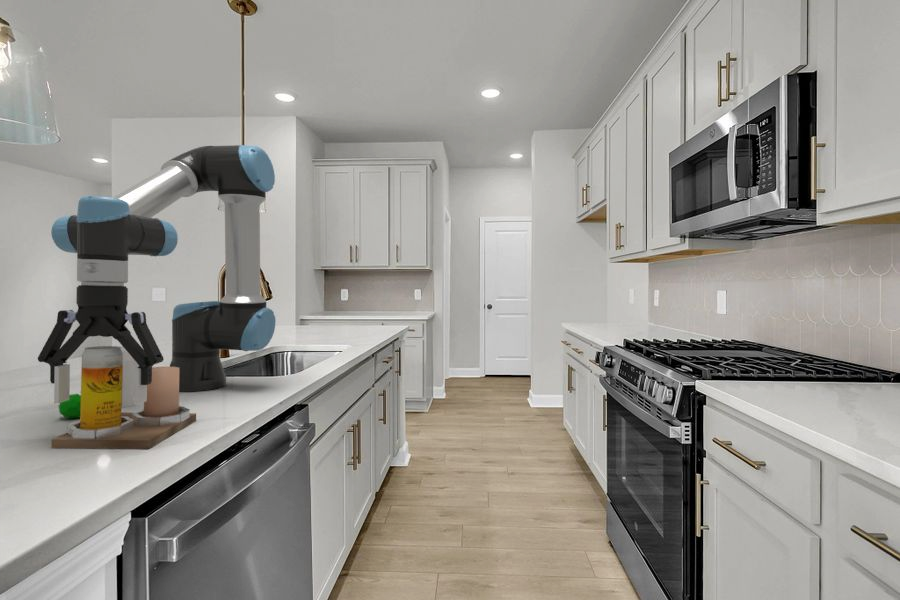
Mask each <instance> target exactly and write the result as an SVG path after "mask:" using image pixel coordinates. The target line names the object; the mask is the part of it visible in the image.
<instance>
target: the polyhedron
mask: <svg viewBox="0 0 900 600" xmlns="http://www.w3.org/2000/svg"><path fill="white" fill-rule="evenodd" d="M58 410H59V413H60V415H61V416H63V417H65V418H67V419H69V420H73V419H80V411H81V394H78V393H75V394H74V393H73V394H70V397H69V400H67V401H64V402H61V403H58Z"/></svg>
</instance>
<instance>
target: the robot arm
mask: <svg viewBox="0 0 900 600" xmlns="http://www.w3.org/2000/svg"><path fill="white" fill-rule="evenodd" d="M273 165H274V164H273V163H272V160H271V158H270V157H269V155H268V154H267V152H266V151H265V150H264V149H263V148H261V147H259V146H257V145H247V144H246V145H245V144H241V145H239V144H238V145H237V144H236V145H204V146H198V147H196V148H193V149H190V150H187V151H186V152H183V153H181V154H179V155H176V156H175V157H172V158H171V159H168V160H167V161H165V162H164V163H163V164H162V165H161V168H160V170H158V171H157V172H155V173H154V174H152V175H150V176H148V177H147V178H145V179H143V180H141V181H140V182H138V183H136V184H133V186H131V187H129V188H127V189H126V190H124V191H122V192H120V193H119V194H117V195H115V196H112V197H110V196H103V195H102V196H101V195H85V196H82V197H81V198H80V199H79V200H78V205H77V215H74V214H70V215H66V216H65V215H64V216H61V217H58V219H56V220H55V221H54V222H53V224H52V227H51V233H50V234H51V239H52V240H53V243H54V244H55V246H56V247H58V249H59V250H60V251H63V252H66V253H71V254H72V253H73V254H76V258H77V259H76V281H77V282H79V283H81V284H80V285H78V286H76V296H75V297H76V298H75V299H76V301H75V302H76V305H77V307H78V308H77V310H76V311H74V310H73V309H67V310H66V309H65V310H59V311H58V312H57V318H56V323H55V325H54V327H53V329H52V330H51V332H50V335H49V336H48V337H47V340H46V341H45V344H44V346H43V347H42V349H41V351H40V353H39V355H38V357H37V360H38V362H39V363H45V364H48V365H49V367H50V368H49V371H50V373H49V374H50V377H49V379H50V380H49V381H50V383H51V384H54V386H53V387H54V389H53V390H54V393H53V397H54V398H53V399H54V400H53V401H54V402H53V403H54V404H60V403H61V402H64V401H67V400H69V397H70V395H71V394H70V385H71V384H70V381H71V380H70V379H71V377H70V375H71V367H70V366H71V364H69V363H68V359H69V358H70V357H71V356H72V355H73V354H74V353H75V352H76V351H77V350H78V348H80V346H81V345H82V344H83V343H84V342H85V340H87V339H88V338H89V337H103V338H104V337H105V338H107V337H108V338H109V337H112V338H113V339H114V340H117V342H119V344H120V346H123V347H124V348H125V349H126V351H127V352H128V353H129V354H130V355H131V357H132V358H133V359H134V360H135V361H136V362H137V364H138V365H139V367H137V368H135V375H134V401H133V405H140V404H144V402H146V401H147V385H148V384H151V381H152V368H153V367H154V365H157V364H160V363H162V362H164V356H163V354H162V352H161V350H160V349H159V346H158V345H157V342H156V341H155V338H154V336H153V334H152V332H151V330H150V328H149V326H148V324H147V316H146V313H145V311H137V312H131V313H128V311H127V306H128V302H129V299H128V297H129V288H128V287H127V286H125V284H127V283H128V282H129V255H131V256H133V255H134V256H150V257H165V256H168V255H170V254H171V253H173V251H174V250H175V249H176V248H177V246H178V241H179V237H178V232H177V230H176V229H175V228H176V227H174V225H172V224H171V223H170V222H168V221H167V220H166V221H165V220H161V219H159V218H157V217H154V216H156V215H157V214H159V213H160V212H162V211H163V210H165V209H166V208H167V207H169V206H171V205H172V204H174V203H175V202H176V201H178V200H180V199H182V198H189V197H192V196H194V195H195V194H197V193H200V192H201V193H202V192H217V197H218V198H219V199H220V200H221V202H223V204H224V245H225V246H224V248H225V249H224V251H225V252H224V253H225V255H224V256H225V258H224V259H225V264H224V265H225V268H224V269H225V295H224V296H223V297H222V298H221V299H220V300H212V301H209V300H207V301H201V302H200V301H199V302H198V301H197V302H188V303H180V304H177V305H175V306H174V308H173V311H172V319H171V322H172V323H171V324H172V325H171V327H172V328H171V330H172V334H171V335H172V336H171V340H172V341H171V345H172V346H171V347H172V349H171V351H172V352H171V353H172V354H171V361H170V363H169V366H168V367H179V392H202V391H209V390H215V389H219V388H223V387H224V386H226V385H227V376H226V372H225V370H224V367H223V362H222V361H221V358H220V357H221V356H220V353H221V352H220V351H221V350H231V351H244V352H249V351H250V352H252V351H253V352H255V351H256V352H257V351H260V350H263V349H265V348H266V347H267V346H268V345H269V344H270V342H271V340H272V338H273V336H274V333H275V330H276V329H275V328H276V315H275V313H274V311H273V309H271V308H269V307H267V299H265V297H263V296H262V294H261V215H260V212H261V205H262V204H263V203H264V201H266V195H267V193H268V192H270V191H272V190H273V188H274V186H275V182H276V175H275V169H274V166H273ZM153 217H154V218H153ZM75 322H78V324H79V325H78V326H77V327H76V329H74V331H73V332H72V335H70V337H69V338H68V339H67V340H66V341H65V339H66V338H67V336H68V334H69V332H70V331H71V329H72V327H73V324H74V323H75ZM128 322H129V324H130V325H132V328H133V331H134V333H135V335H136V337H137V339H138V341H139V342H138V341H137V340H136V339H135V338H134V336H132V332H131V331H130V330H129V328H128V327H127V326H126V323H128ZM64 342H65V343H64ZM63 343H64V344H63Z"/></svg>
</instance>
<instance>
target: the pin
mask: <svg viewBox="0 0 900 600" xmlns="http://www.w3.org/2000/svg"><path fill="white" fill-rule="evenodd" d="M179 406H180V391H179V367H169V366H152V381H151V384H148V385H147V401H146V402H143V409H144V417H163V416H169V415H175V414H179Z"/></svg>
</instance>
